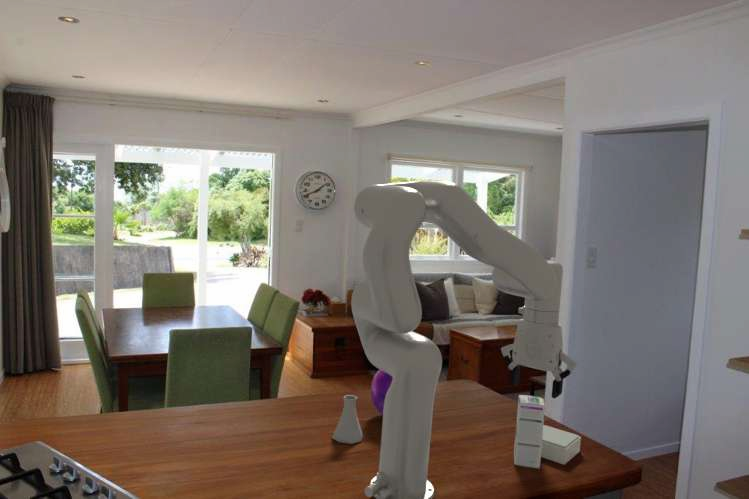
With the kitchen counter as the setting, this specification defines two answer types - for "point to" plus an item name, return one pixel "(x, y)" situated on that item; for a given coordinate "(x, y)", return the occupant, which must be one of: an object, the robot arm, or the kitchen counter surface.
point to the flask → (348, 423)
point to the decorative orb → (380, 389)
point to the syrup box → (529, 431)
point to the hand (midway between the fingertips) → (534, 391)
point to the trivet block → (559, 445)
